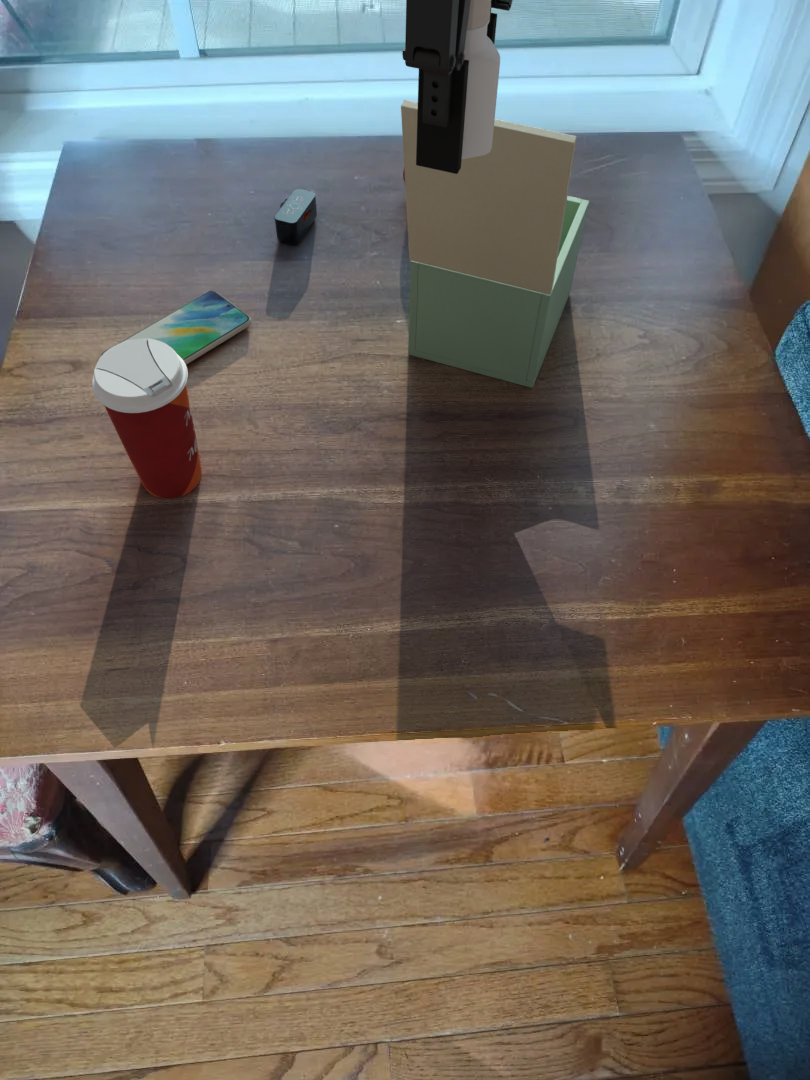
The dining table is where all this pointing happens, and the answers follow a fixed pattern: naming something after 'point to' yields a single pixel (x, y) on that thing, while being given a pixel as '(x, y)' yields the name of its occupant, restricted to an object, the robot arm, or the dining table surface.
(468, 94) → the pepper shaker
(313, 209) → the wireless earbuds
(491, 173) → the cover
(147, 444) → the paper cup
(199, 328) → the smartphone
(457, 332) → the case
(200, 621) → the dining table surface
